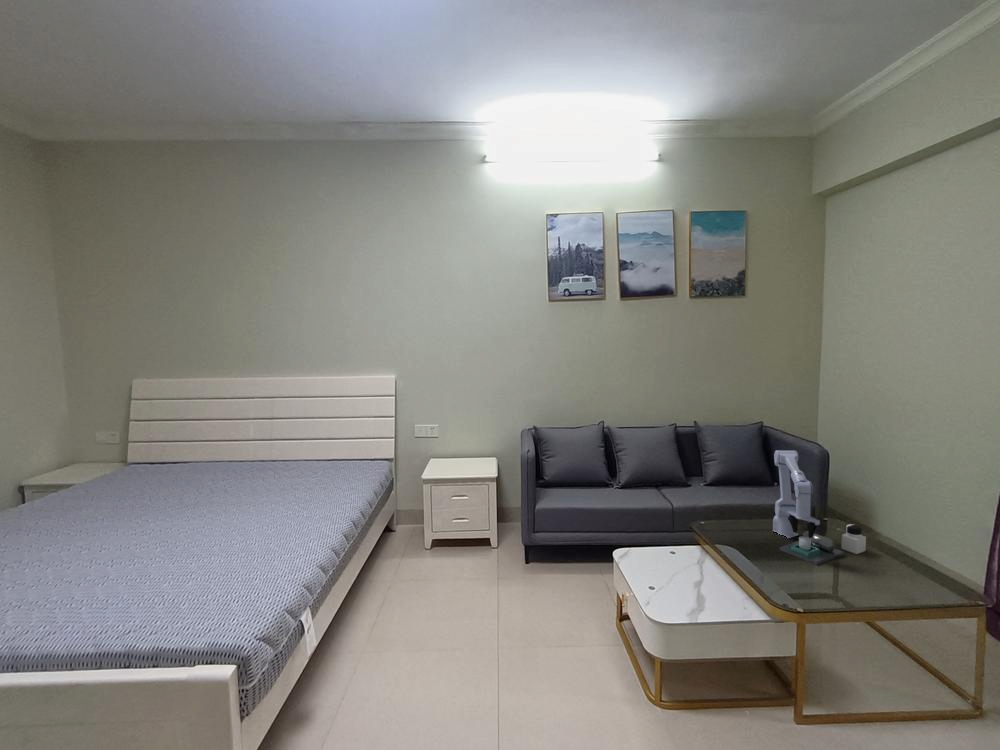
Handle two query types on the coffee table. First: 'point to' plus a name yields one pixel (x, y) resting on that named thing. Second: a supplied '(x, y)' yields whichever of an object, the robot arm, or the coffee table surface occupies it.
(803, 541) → the white rounded cylinder
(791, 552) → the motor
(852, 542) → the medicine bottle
